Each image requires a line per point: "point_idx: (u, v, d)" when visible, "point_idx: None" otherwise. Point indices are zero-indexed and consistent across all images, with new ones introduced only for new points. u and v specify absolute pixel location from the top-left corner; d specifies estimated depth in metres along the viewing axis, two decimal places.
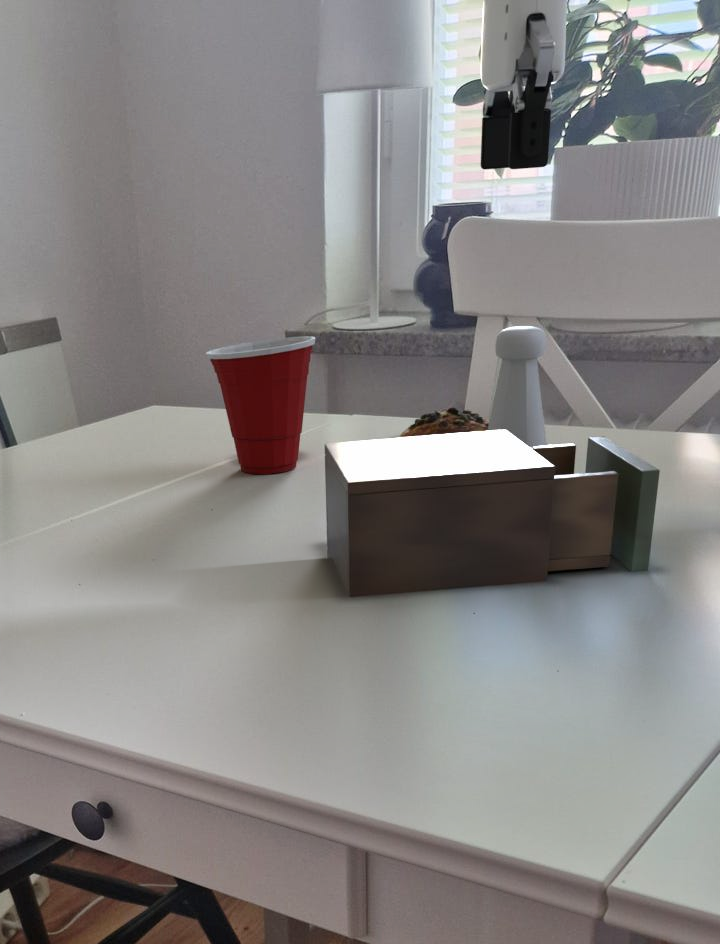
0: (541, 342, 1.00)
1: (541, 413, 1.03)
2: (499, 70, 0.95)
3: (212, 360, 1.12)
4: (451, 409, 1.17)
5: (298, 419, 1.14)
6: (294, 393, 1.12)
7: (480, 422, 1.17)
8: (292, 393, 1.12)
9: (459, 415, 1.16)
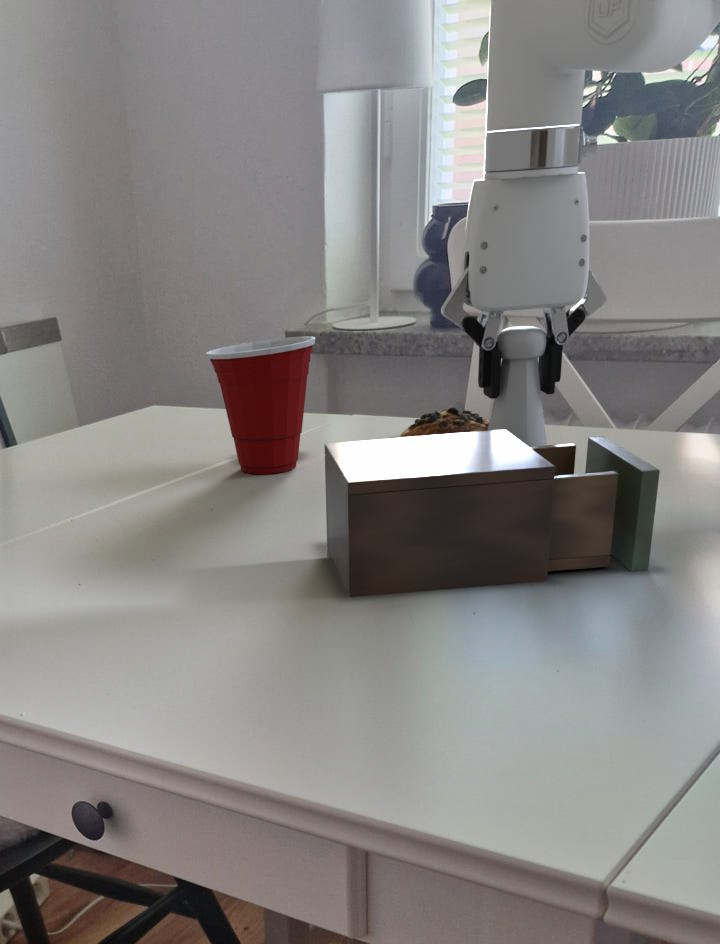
0: (542, 342, 1.00)
1: (541, 413, 1.03)
2: (558, 292, 0.98)
3: (212, 360, 1.12)
4: (451, 409, 1.17)
5: (298, 419, 1.14)
6: (294, 393, 1.12)
7: (480, 422, 1.17)
8: (292, 393, 1.12)
9: (459, 415, 1.16)
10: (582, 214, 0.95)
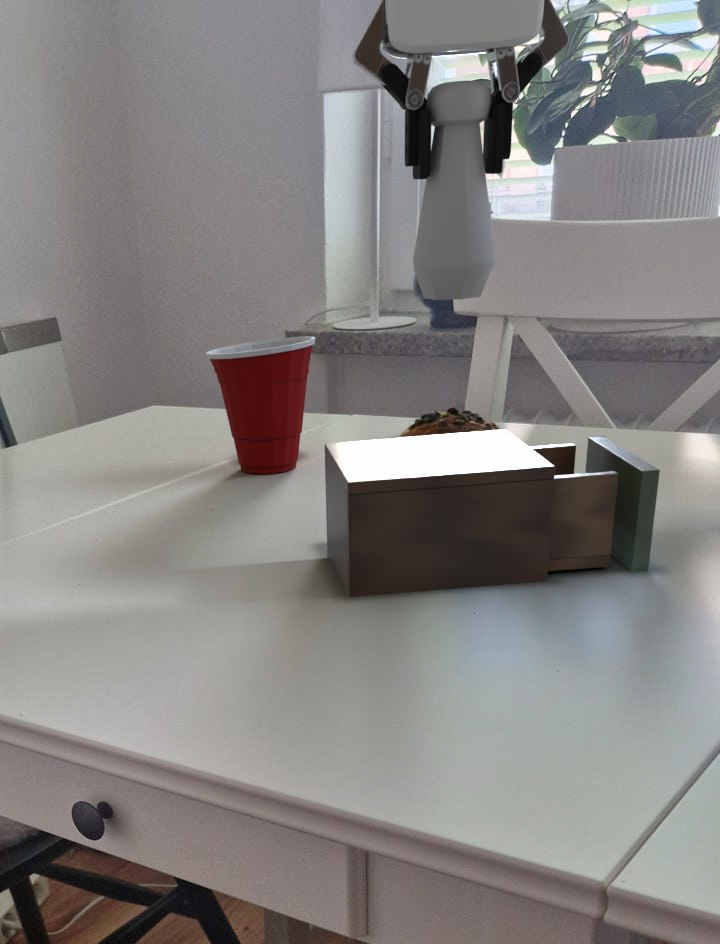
0: (484, 98, 0.77)
1: (486, 200, 0.80)
2: (504, 24, 0.74)
3: (212, 360, 1.12)
4: (451, 409, 1.17)
5: (298, 419, 1.14)
6: (294, 393, 1.12)
7: (480, 422, 1.17)
8: (292, 393, 1.12)
9: (459, 415, 1.16)
10: None
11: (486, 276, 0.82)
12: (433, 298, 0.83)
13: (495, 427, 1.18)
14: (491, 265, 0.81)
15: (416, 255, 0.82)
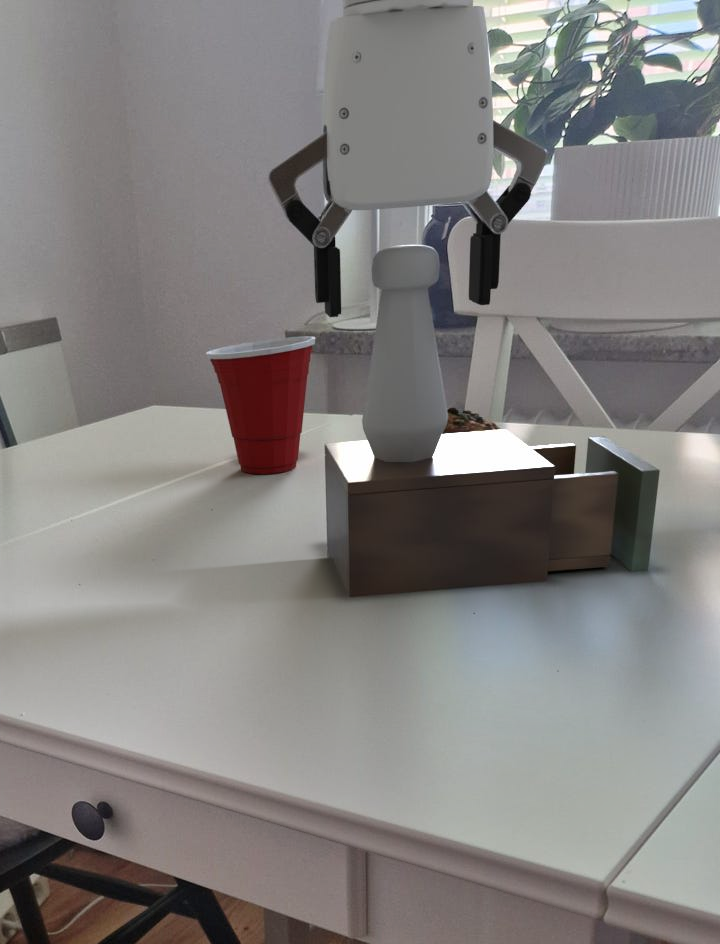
0: (432, 264, 0.73)
1: (436, 364, 0.77)
2: (451, 181, 0.71)
3: (212, 360, 1.12)
4: (451, 409, 1.17)
5: (298, 419, 1.14)
6: (294, 393, 1.12)
7: (480, 422, 1.17)
8: (292, 393, 1.12)
9: (459, 415, 1.16)
10: (481, 67, 0.68)
11: (438, 438, 0.79)
12: (384, 460, 0.80)
13: (495, 427, 1.18)
14: (443, 428, 0.78)
15: (365, 416, 0.79)
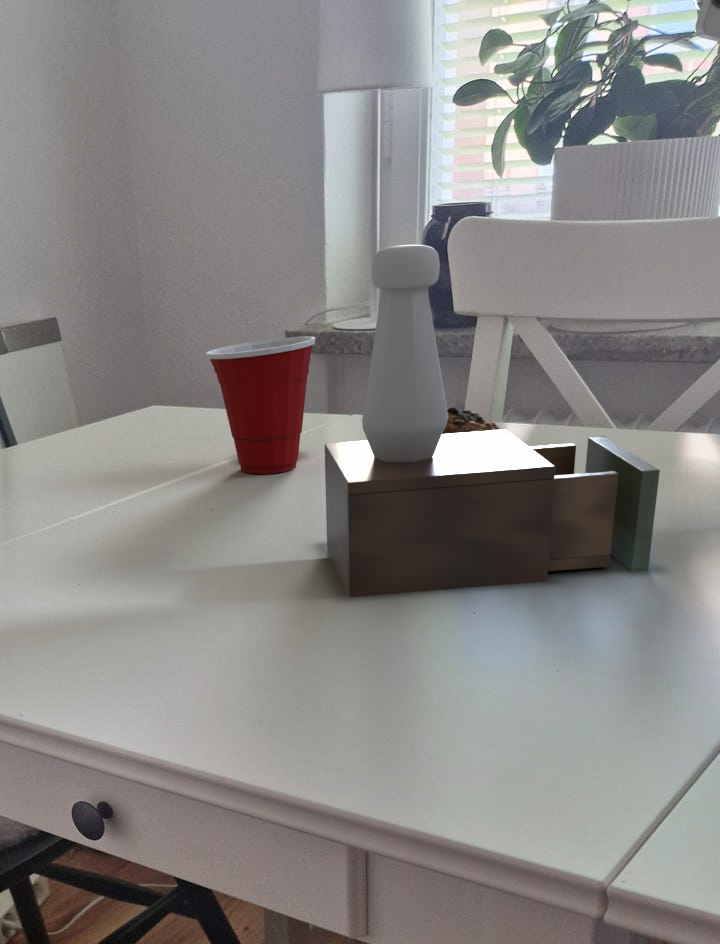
0: (432, 264, 0.73)
1: (436, 364, 0.77)
2: None
3: (212, 360, 1.12)
4: (451, 409, 1.17)
5: (298, 419, 1.14)
6: (294, 393, 1.12)
7: (480, 422, 1.17)
8: (292, 393, 1.12)
9: (459, 415, 1.16)
10: None
11: (438, 438, 0.79)
12: (384, 460, 0.80)
13: (495, 427, 1.18)
14: (443, 428, 0.78)
15: (365, 416, 0.79)
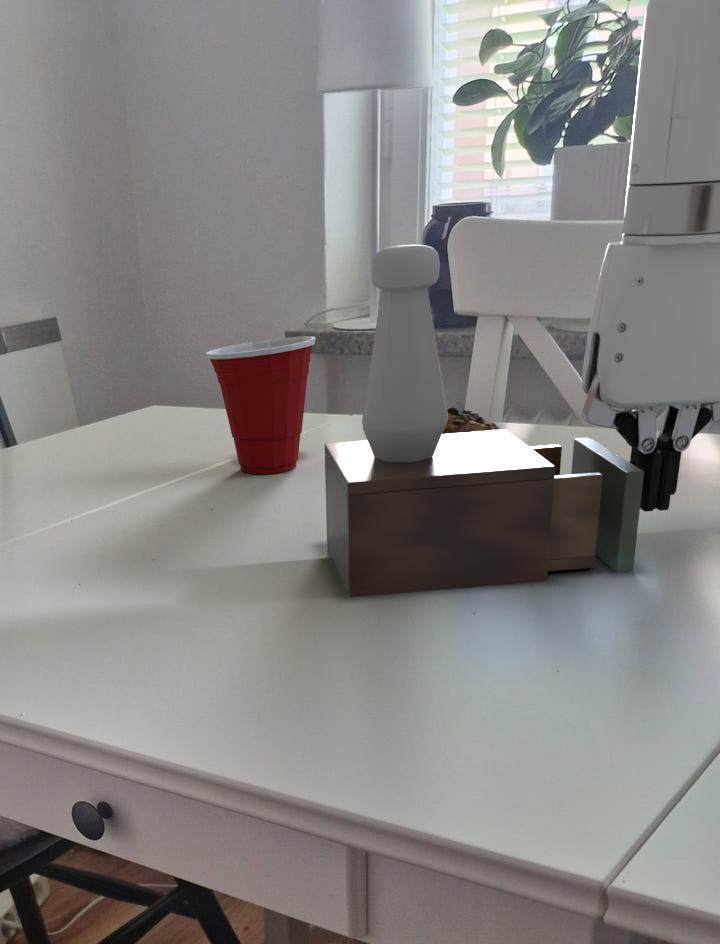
0: (432, 264, 0.73)
1: (436, 364, 0.77)
2: (711, 385, 0.77)
3: (212, 360, 1.12)
4: (451, 409, 1.17)
5: (298, 419, 1.14)
6: (294, 393, 1.12)
7: (480, 422, 1.17)
8: (292, 393, 1.12)
9: (459, 415, 1.16)
10: None
11: (438, 438, 0.79)
12: (384, 460, 0.80)
13: (495, 427, 1.18)
14: (443, 428, 0.78)
15: (365, 416, 0.79)
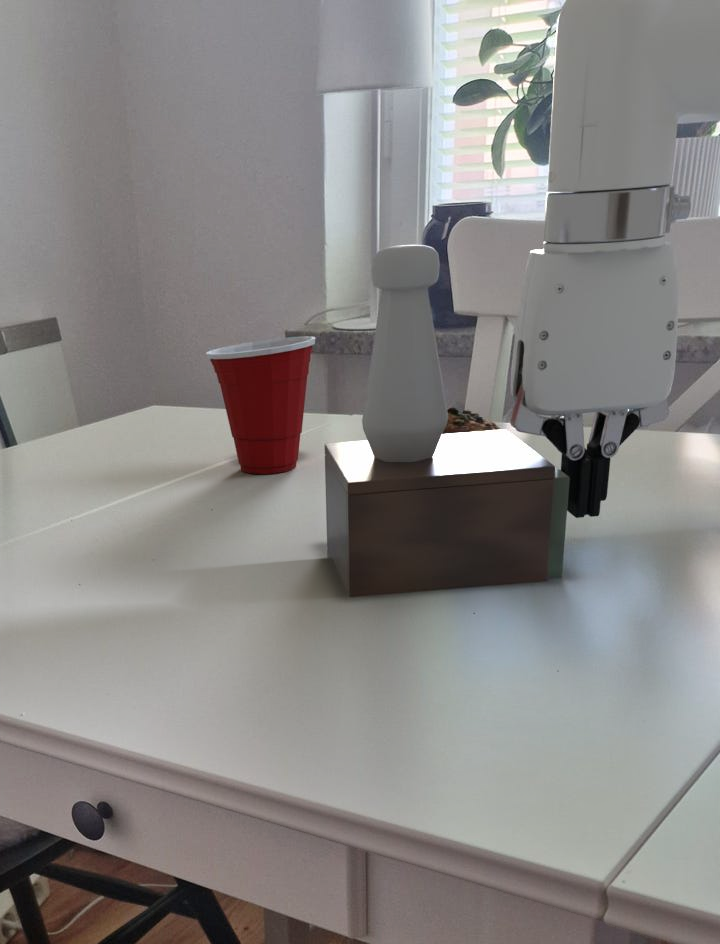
0: (432, 264, 0.73)
1: (436, 364, 0.77)
2: (636, 391, 0.77)
3: (212, 360, 1.12)
4: (451, 409, 1.17)
5: (298, 419, 1.14)
6: (294, 393, 1.12)
7: (480, 422, 1.17)
8: (292, 393, 1.12)
9: (459, 415, 1.16)
10: (670, 296, 0.74)
11: (438, 438, 0.79)
12: (384, 460, 0.80)
13: (495, 427, 1.18)
14: (443, 428, 0.78)
15: (365, 416, 0.79)
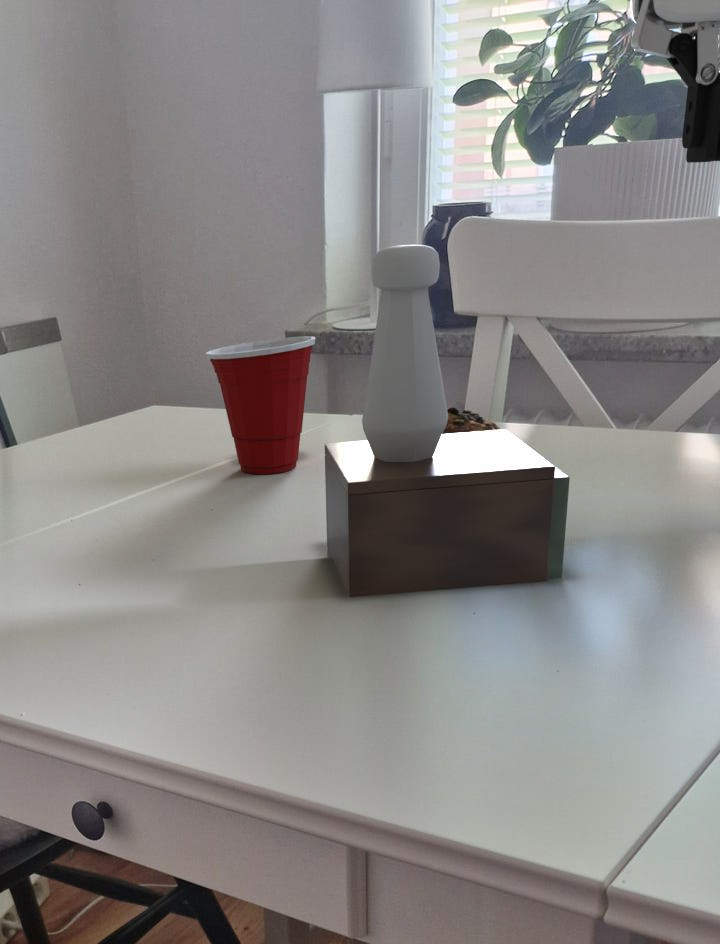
0: (432, 264, 0.73)
1: (436, 364, 0.77)
2: None
3: (212, 360, 1.12)
4: (451, 409, 1.17)
5: (298, 419, 1.14)
6: (294, 393, 1.12)
7: (480, 422, 1.17)
8: (292, 393, 1.12)
9: (459, 415, 1.16)
10: None
11: (438, 438, 0.79)
12: (384, 460, 0.80)
13: (495, 427, 1.18)
14: (443, 428, 0.78)
15: (365, 416, 0.79)
